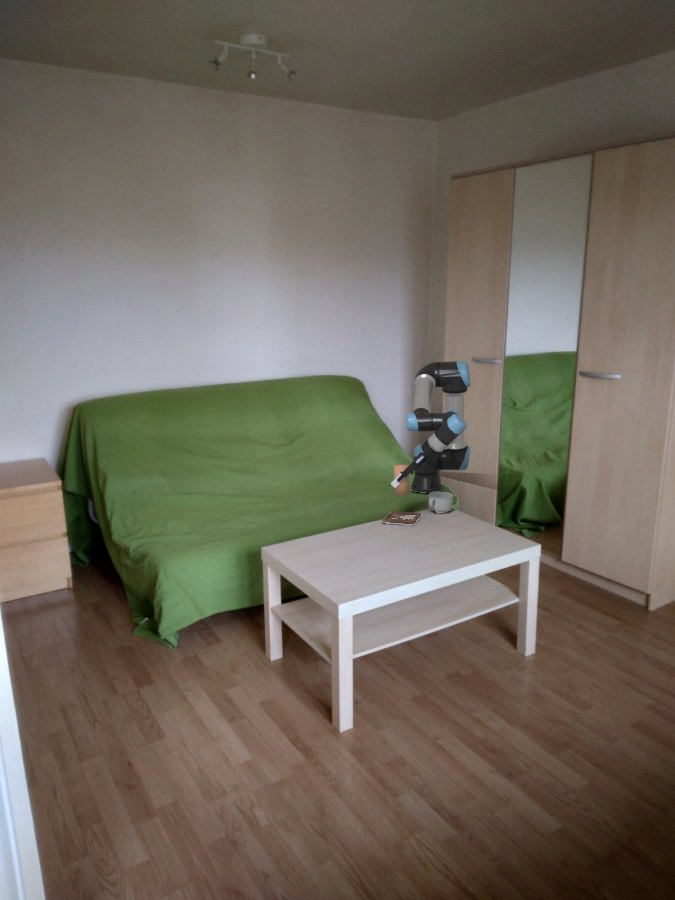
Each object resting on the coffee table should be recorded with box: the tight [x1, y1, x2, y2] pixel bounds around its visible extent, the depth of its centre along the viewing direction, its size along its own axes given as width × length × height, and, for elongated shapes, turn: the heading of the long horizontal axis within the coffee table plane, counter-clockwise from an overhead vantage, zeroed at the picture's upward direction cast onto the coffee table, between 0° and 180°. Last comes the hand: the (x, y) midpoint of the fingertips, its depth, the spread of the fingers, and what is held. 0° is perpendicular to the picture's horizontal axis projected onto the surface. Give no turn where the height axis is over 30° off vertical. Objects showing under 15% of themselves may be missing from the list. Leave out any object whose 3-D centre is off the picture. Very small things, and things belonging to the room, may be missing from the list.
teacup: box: [427, 491, 454, 513], centre depth 283 cm, size 14×11×8 cm
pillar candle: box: [393, 463, 410, 496], centre depth 270 cm, size 6×6×12 cm
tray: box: [381, 510, 422, 524], centre depth 273 cm, size 13×13×2 cm
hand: (395, 483), depth 271 cm, fingers closed on pillar candle, 6 cm apart
